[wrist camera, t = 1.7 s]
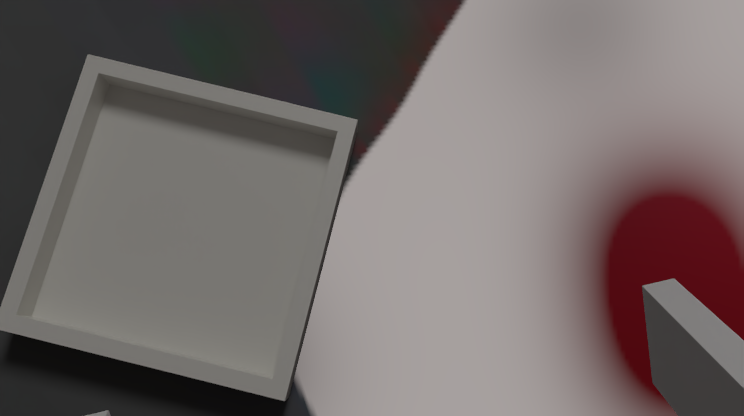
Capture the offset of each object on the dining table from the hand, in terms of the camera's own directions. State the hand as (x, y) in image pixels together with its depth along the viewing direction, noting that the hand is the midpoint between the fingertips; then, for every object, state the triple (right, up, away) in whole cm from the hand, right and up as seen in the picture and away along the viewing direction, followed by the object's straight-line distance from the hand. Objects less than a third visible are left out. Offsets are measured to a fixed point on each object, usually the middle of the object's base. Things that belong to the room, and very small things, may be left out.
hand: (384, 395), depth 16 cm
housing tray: (-12, +3, +26) cm, 29 cm away
